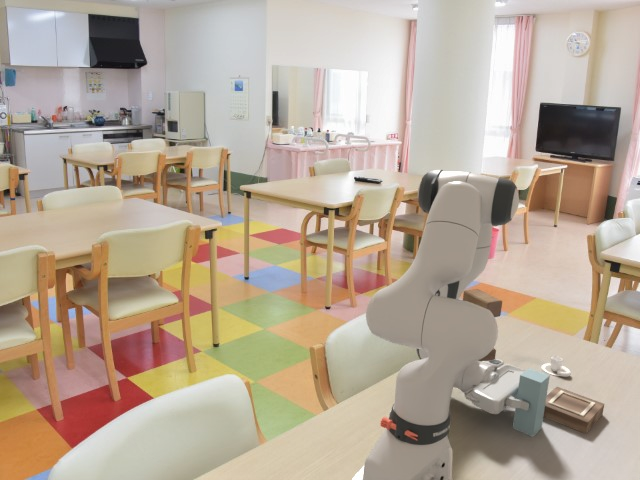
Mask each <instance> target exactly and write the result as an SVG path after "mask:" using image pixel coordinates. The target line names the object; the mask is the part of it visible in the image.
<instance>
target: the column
mask: <svg viewBox="0 0 640 480" xmlns="http://www.w3.org/2000/svg"><path fill="white" fill-rule="evenodd" d="M550 376H551V374H548V373H545V372H542V371H538V370H536V369H533V368H529V367H528V368H527V369H526V371H525V372H524V373H522V374H521V375H520V380H519V387H518V394H517V399H519V400H523V399H525V400H527V401H530V403H531V405H530V408H529V409H528V410H524V409H521V408H514V417H513V423H512V424H513V425H512V428H513V429H514V430H516V431H518V432H521V433H523V434H526V435H528V436H530V437H532V438H533V437H535V436H536V434H537V433H539V431H540V430H542V429H543V421H544V417H543V416H544V409H545V403H546V397H547V395H548V390H549V383H550V382H549V381H550V378H551V377H550Z"/></svg>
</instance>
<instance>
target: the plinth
mask: <svg viewBox="0 0 640 480" xmlns="http://www.w3.org/2000/svg"><path fill="white" fill-rule="evenodd" d="M604 408H605V403H603V402H601V401H598V400H594V399H592V398H589V397H587V396H584V395H581V394H578V393H575V392H572V391H570V390H567V389H565V388H562V387H559V386H556V387H555V388H554V389H553V390H551V391H550V392H549V393H547V397H546V403H545V409H544V416H543V418H546V419H549V420H550V421H554V422H556V423H559V424H561V425H564V426H566V427H568V428H571V429H573V430H576V431H578V432H581V433H583V434H586V435H587V433H588V432H589V431H590V430H591V428H592V427H593V426H594V425H595V424H596V423H597V422H598V421H599V419H600V418H601V417H602V416H603V415H604Z"/></svg>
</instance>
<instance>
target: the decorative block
mask: <svg viewBox="0 0 640 480" xmlns="http://www.w3.org/2000/svg"><path fill="white" fill-rule="evenodd" d="M462 295H463V297H462V300H463V301H468V302H471V303H473V304H476V305H479V306H481V307H483V308H486V309H488V310H490V311H491V312H492V314H493V315H494V317H495V318H498V317H500V316H501V314H502V306H503V300H501V299H499V298H497V297H496V296H494V295H491V294H489V293H487V292H484V291H482V290H481V289H478V288H474V289H468V290H466V289H465V290H464V291H463V293H462ZM496 353H497V349H495V347H494V348H493V349H492V350H491V352H490V353H489V354H488V355H486V356H485V357H484V358H482V359H479V360H478V361H490V360H494V359H496Z"/></svg>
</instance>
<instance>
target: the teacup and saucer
mask: <svg viewBox="0 0 640 480" xmlns="http://www.w3.org/2000/svg"><path fill="white" fill-rule="evenodd" d="M563 362H564V360H563V358H562V357H561V356H557V355H552V356H550V362H548V363H547V362H546V363H544V364H541V366H540V367H541V370H542V371H544V373H545V374H547V375H550V376H551V375H552V376H556V377H570V376H571V375H572V372H571V370H570V369H569V368H567V367H566V366H564V365H563ZM548 366H550V370H551V371H553V372H556V373H553V372H551V371H548V370H547V369H546V368H547V367H548Z"/></svg>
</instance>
